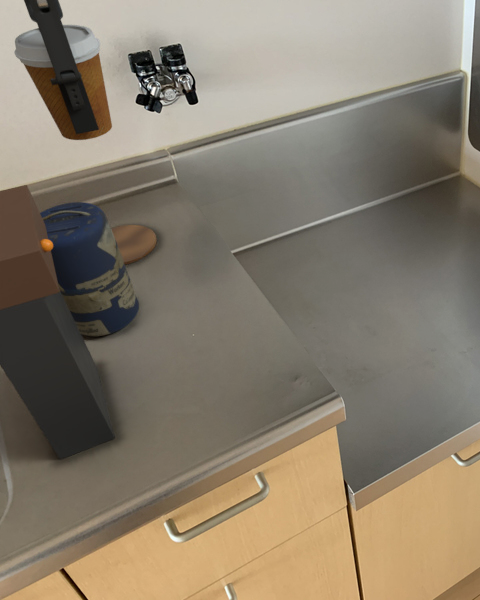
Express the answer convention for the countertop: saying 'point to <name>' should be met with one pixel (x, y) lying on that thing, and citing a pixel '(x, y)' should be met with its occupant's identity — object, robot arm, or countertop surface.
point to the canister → (90, 268)
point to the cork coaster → (134, 241)
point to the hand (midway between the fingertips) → (82, 116)
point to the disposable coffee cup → (87, 63)
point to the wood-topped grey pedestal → (45, 335)
